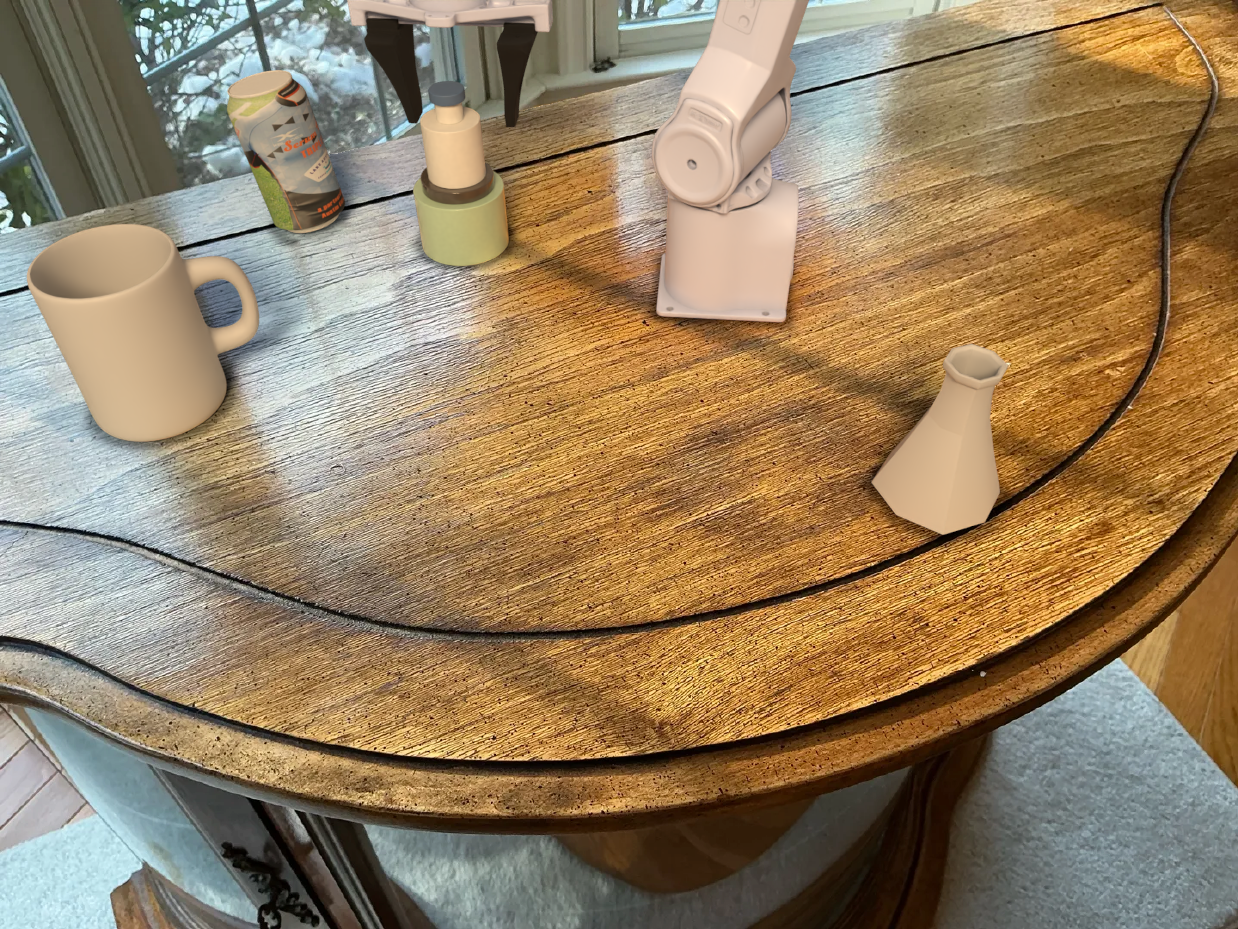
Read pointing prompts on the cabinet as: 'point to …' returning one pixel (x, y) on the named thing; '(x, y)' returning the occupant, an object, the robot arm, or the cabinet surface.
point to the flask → (949, 450)
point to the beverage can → (285, 151)
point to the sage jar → (462, 220)
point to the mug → (139, 327)
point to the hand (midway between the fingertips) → (464, 119)
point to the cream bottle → (452, 138)
